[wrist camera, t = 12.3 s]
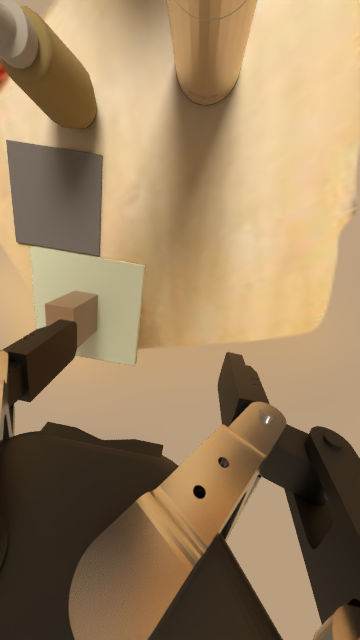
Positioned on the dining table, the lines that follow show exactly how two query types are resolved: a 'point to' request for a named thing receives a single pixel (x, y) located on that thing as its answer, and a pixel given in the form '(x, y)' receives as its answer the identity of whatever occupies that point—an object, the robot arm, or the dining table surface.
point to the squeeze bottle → (45, 67)
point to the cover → (90, 301)
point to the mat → (56, 197)
